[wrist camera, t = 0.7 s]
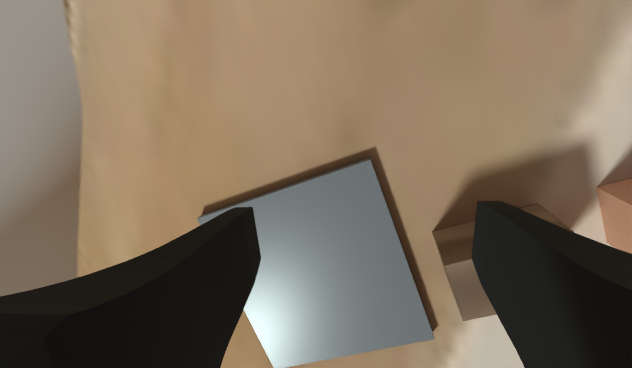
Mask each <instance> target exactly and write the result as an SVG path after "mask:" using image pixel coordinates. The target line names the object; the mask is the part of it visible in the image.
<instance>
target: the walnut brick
mask: <svg viewBox="0 0 632 368" xmlns="http://www.w3.org/2000/svg"><path fill="white" fill-rule="evenodd" d="M519 209H521V210H524V211H526V212H528V213H530V214H533V215H535V216H537V217H539V218H542V219H544V220H546V221H548V222H551V223H553V224H555V225H557V226H560V227H562V228H564V229H567V230H569V231H571V232H573V231H572V230H570V229H569V228H568V227H567V226H565V225H564V224H563V223H562V222H560V221H559V220H558V219H557V218H555V217H554V216H553V215H552V214H550V213H549V212H548V211H546V210H545V209H544V208H543V207H541V206H540V205H539V204H538V203H537V204H533V205H529V206H526V207H522V208H519ZM474 228H475V220H474V221H471V222H467V223H463V224H460V225H456V226H452V227H449V228H445V229H441V230H438V231H434V232H432V233H433V236H434V239H435V242H436V245H437V248H438V251H439V254H440V257H441V260H442V263H443V266H444V269H445V272H446V275H447V278H448V281H449V284H450V287H451V289H452V292H453V295H454V298H455V300H456V303H457V306H458V308H459V311H460V314H461V317H462V319H463V321H466V320H471V319H476V318H481V317H486V316H491V315H496V312H495V310H494V308H493V306H492V304H491V303H490V301H489V299H488V297H487V295H486V293H485V291H484V289H483V287H482V285H481V283H480V281H479V278H478V275H477V273H476V270H475V267H474V264H473V261H472V258H471V255H472V246H473V237H474Z"/></svg>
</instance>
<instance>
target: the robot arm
mask: <svg viewBox="0 0 632 368" xmlns="http://www.w3.org/2000/svg"><path fill="white" fill-rule="evenodd" d="M471 258H472V261H473V264H474V267H475V270H476V273H477V275H478V278H479V281H480V283H481V285H482V287H483V289H484V291H485V293H486V295H487V297H488V299H489V301H490V303H491V304H492V306H493V308H494V310H495V312H496V314H497V315H498V317H499V319H500V321H501V323H502V325H503V326H504V328H505V330H506V332H507V334H508V336H509V337H510V339H511V341H512V343H513V345H514V347H515V348H516V350H517V353H518V355H519V357H520V359H521V361H522V363H523V365H524V367H525V368H632V254H631V253H628V252H625V251H622V250H619V249H616V248H613V247H610V246H607V245H605V244H602V243H599V242H597V241H594V240H592V239H589V238H586V237H584V236H581V235H579V234H576V233H574V232H571V231H569V230H567V229H564V228H562V227H560V226H557V225H555V224H553V223H551V222H548V221H546V220H544V219H542V218H539V217H537V216H535V215H533V214H530V213H528V212H526V211H524V210H521V209H519V208H517V207H514V206H512V205H509V204H507V203H504V202H501V201H477V210H476V219H475V228H474V237H473V246H472V255H471ZM260 261H261V254H260V248H259V241H258V235H257V229H256V223H255V217H254V211H253V207H235V208H232V209H230V210H228V211H226V212H224V213H222V214H220V215H218V216H216V217H215V218H213V219H211V220H209V221H208V222H206V223H204V224H202V225H200V226H199V227H197V228H195V229H193V230H192V231H190V232H188V233H186V234H184V235H182V236H180V237H178V238H176V239H174V240H172V241H171V242H169V243H167V244H165V245H163V246H161V247H159V248H156V249H154V250H152V251H150V252H148V253H145V254H143V255H140V256H138V257H136V258H133V259H131V260H128V261H126V262H123V263H120V264H117V265H114V266H112V267H109V268H106V269H103V270H100V271H97V272H94V273H91V274H88V275H85V276H82V277H78V278H75V279H72V280H68V281H65V282H61V283H57V284H54V285H50V286H46V287H42V288H38V289H34V290H30V291H25V292H20V293H16V294H11V295H6V296H1V297H0V368H220V367H221V363H222V360H223V357H224V354H225V351H226V349H227V346H228V344H229V341H230V339H231V336H232V334H233V332H234V330H235V327H236V325H237V323H238V321H239V318H240V316H241V314H242V311H243V309H244V307H245V305H246V302H247V300H248V298H249V295H250V293H251V291H252V288H253V286H254V283H255V280H256V276H257V273H258V269H259V265H260Z"/></svg>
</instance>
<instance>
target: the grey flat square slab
mask: <svg viewBox="0 0 632 368" xmlns="http://www.w3.org/2000/svg"><path fill="white" fill-rule="evenodd" d="M235 207H253V211H254V217H255V223H256V229H257V235H258V241H259V248H260V254H261V261H260V265H259V269H258V273H257V276H256V280H255V283H254V286H253V288H252V291H251V293H250V295H249V298H248V300H247V302H246V305H245V307H244V311H245V313H246V315H247V317H248V319H249V320H250V322H251V324H252V326H253V328H254V330H255V332H256V334H257V336H258V338H259V340H260V342H261V344H262V346H263V348H264V350H265V352H266V354H267V356H268V357H269V359H270V361H271V363H272V365H273V367H274V368H285V367H290V366H295V365H301V364H306V363H311V362H316V361H322V360H327V359H332V358H337V357H343V356H348V355H353V354H358V353H364V352H369V351H374V350H379V349H385V348H390V347H395V346H400V345H406V344H411V343H416V342H421V341H427V340H432V339H435V338H434V334H433V331H432V328H431V325H430V322H429V319H428V317H427V314H426V311H425V308H424V305H423V303H422V300H421V297H420V294H419V291H418V289H417V286H416V283H415V280H414V278H413V275H412V272H411V269H410V266H409V264H408V261H407V258H406V255H405V252H404V250H403V247H402V244H401V241H400V238H399V236H398V233H397V230H396V227H395V224H394V222H393V219H392V216H391V213H390V210H389V208H388V205H387V202H386V199H385V197H384V194H383V191H382V188H381V185H380V183H379V180H378V177H377V174H376V171H375V169H374V166H373V163H372V160H371V157H369V158H366V159H363V160H361V161H358V162H355V163H352V164H349V165H346V166H343V167H340V168H337V169H334V170H331V171H328V172H326V173H323V174H320V175H317V176H314V177H311V178H308V179H305V180H302V181H299V182H296V183H293V184H290V185H288V186H285V187H282V188H279V189H276V190H273V191H270V192H267V193H264V194H261V195H258V196H255V197H252V198H250V199H247V200H244V201H241V202H238V203H235V204H232V205H229V206H226V207H223V208H220V209H217V210H215V211H212V212H209V213H206V214H203V215H201V216H200V217H198V218H197V219H198V221H199V223H200V225H202V224H204V223H206V222H208V221H209V220H211V219H213V218H215V217H216V216H218V215H220V214H222V213H224V212H226V211H228V210H230V209H232V208H235Z"/></svg>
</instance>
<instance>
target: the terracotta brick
mask: <svg viewBox="0 0 632 368" xmlns="http://www.w3.org/2000/svg"><path fill="white" fill-rule="evenodd" d="M597 192H598V198H599V203H600V208H601V213H602V219H603V224H604V229H605V234H606V240H607V243H609V244H610V245H612V246H613V247H614V248H616V249H619V250H622V251H625V252H628V253H631V254H632V178H630V179H626V180H622V181H619V182H615V183H611V184H608V185H604V186H600V187H597Z"/></svg>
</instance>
